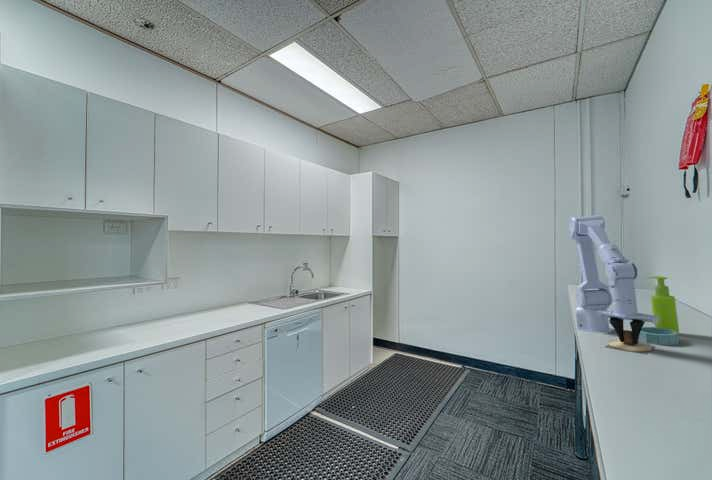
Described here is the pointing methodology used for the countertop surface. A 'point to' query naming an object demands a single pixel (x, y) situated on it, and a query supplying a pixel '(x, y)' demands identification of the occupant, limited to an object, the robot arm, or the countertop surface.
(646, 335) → the bowl
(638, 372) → the countertop surface
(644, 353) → the mat
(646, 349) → the lid
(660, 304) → the soap dispenser
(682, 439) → the countertop surface
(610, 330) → the robot arm
